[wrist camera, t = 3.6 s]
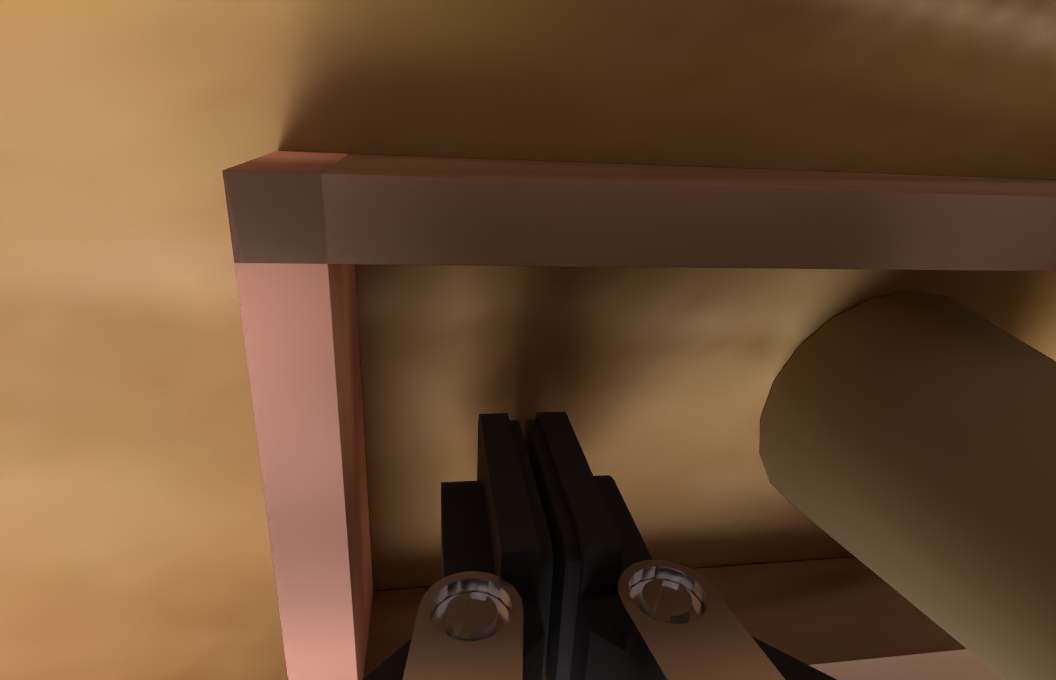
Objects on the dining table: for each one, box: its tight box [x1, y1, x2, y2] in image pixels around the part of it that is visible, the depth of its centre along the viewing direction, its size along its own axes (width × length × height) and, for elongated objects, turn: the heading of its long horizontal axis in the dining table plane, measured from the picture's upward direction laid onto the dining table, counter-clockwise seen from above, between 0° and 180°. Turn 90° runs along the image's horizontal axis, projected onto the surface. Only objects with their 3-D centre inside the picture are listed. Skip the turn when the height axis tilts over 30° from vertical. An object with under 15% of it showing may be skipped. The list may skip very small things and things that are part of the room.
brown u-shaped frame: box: [223, 151, 1056, 680], centre depth 13 cm, size 11×18×3 cm, turn 87°
